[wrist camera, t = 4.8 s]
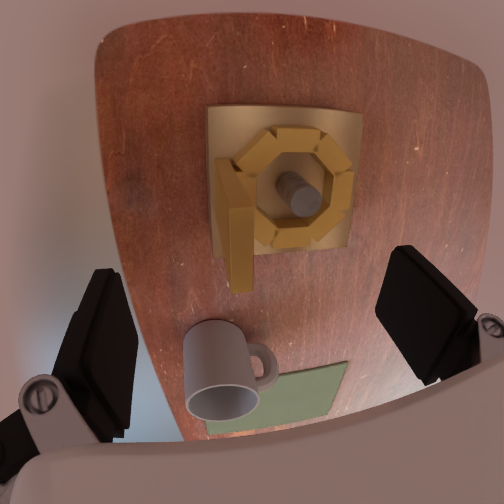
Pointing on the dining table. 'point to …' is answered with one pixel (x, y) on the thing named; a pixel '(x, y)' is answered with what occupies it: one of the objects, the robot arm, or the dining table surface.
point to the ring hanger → (254, 218)
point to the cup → (224, 371)
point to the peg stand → (282, 164)
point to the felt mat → (289, 400)
